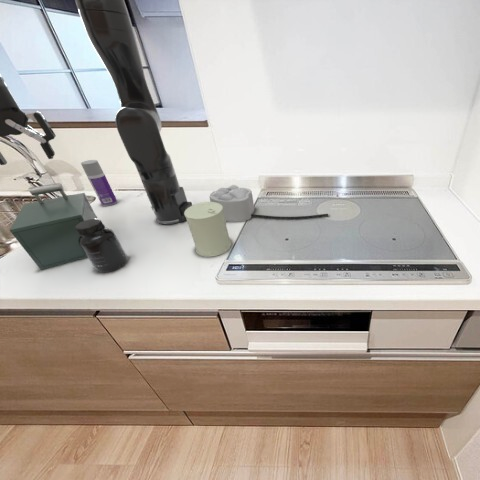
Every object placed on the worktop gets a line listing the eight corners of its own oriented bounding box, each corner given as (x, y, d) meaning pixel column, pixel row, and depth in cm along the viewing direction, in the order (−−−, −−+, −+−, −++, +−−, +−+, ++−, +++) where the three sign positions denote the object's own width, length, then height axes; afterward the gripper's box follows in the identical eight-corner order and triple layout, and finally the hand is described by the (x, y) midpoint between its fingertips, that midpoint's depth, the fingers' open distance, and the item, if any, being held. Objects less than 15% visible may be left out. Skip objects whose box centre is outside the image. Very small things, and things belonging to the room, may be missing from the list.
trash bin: (49, 242, 74) (25, 208, 68) (103, 228, 80) (85, 196, 74) (40, 270, 64) (11, 233, 58) (103, 252, 70) (82, 217, 64)
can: (216, 260, 67) (205, 219, 61) (188, 252, 70) (174, 213, 63) (237, 241, 75) (229, 203, 68) (211, 235, 77) (201, 197, 70)
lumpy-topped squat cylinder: (249, 221, 84) (244, 196, 79) (208, 221, 84) (202, 196, 79) (256, 206, 92) (252, 183, 87) (219, 206, 92) (214, 183, 88)
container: (120, 200, 96) (101, 159, 88) (110, 206, 92) (89, 164, 84) (108, 200, 96) (88, 159, 88) (98, 205, 93) (76, 164, 84)
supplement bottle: (108, 255, 69) (85, 215, 62) (134, 256, 69) (113, 216, 62) (88, 273, 63) (61, 231, 56) (116, 273, 63) (92, 231, 56)
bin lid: (26, 206, 68) (12, 187, 66) (85, 195, 74) (76, 177, 71) (11, 233, 58) (-5, 212, 55) (82, 217, 64) (71, 198, 61)
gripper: (-82, 86, 49) (-18, 171, 58) (22, 83, 55) (64, 160, 65) (-64, 84, 54) (-8, 162, 63) (29, 81, 61) (67, 152, 70)
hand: (28, 161), depth 64 cm, fingers open, 8 cm apart
